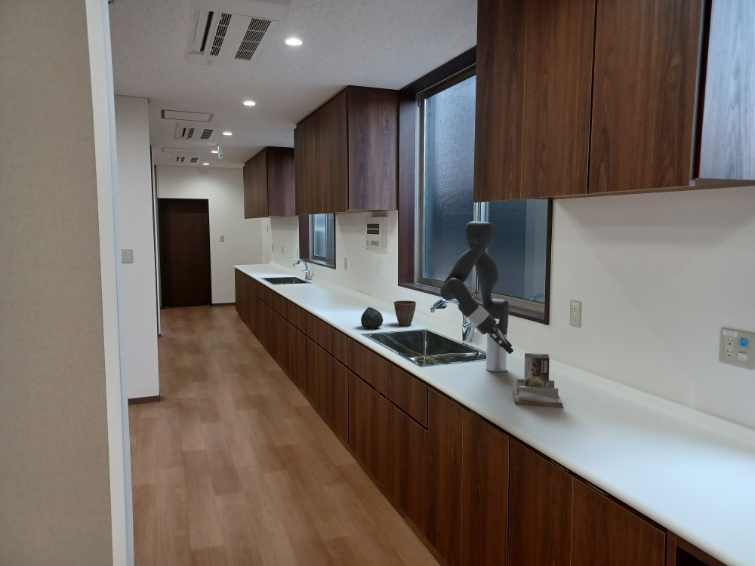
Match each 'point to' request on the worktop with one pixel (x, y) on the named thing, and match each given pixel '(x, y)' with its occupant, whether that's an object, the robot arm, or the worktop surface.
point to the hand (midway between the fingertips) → (511, 349)
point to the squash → (371, 318)
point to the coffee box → (536, 370)
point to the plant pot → (404, 312)
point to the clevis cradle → (536, 395)
